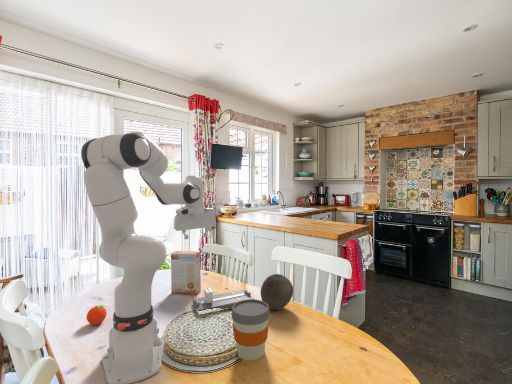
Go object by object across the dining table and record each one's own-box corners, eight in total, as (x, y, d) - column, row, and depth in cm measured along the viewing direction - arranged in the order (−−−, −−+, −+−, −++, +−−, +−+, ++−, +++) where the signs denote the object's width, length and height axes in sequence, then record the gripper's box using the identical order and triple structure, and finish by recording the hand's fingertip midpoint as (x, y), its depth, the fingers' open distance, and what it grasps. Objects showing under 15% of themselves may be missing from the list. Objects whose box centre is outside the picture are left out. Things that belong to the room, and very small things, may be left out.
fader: (213, 302, 119) (212, 291, 119) (207, 303, 118) (207, 292, 118) (210, 297, 123) (209, 287, 123) (204, 298, 122) (204, 288, 122)
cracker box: (201, 290, 139) (200, 251, 139) (196, 295, 134) (195, 254, 133) (176, 288, 142) (176, 250, 142) (171, 293, 137) (170, 252, 136)
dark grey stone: (270, 319, 109) (269, 283, 109) (256, 305, 122) (255, 272, 122) (298, 312, 115) (298, 277, 115) (282, 299, 128) (282, 268, 128)
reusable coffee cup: (239, 368, 80) (239, 319, 79) (227, 345, 91) (226, 302, 91) (276, 357, 85) (276, 311, 84) (260, 337, 96) (259, 296, 96)
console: (254, 303, 124) (254, 295, 124) (198, 315, 113) (198, 306, 113) (244, 294, 135) (244, 286, 135) (192, 304, 124) (192, 295, 123)
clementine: (106, 316, 113) (106, 300, 112) (111, 322, 108) (111, 305, 108) (84, 323, 107) (84, 306, 107) (89, 330, 102) (88, 311, 102)
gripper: (213, 207, 136) (213, 234, 137) (172, 210, 126) (173, 239, 127) (217, 208, 131) (218, 236, 131) (175, 211, 120) (176, 241, 121)
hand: (196, 237), depth 129 cm, fingers open, 8 cm apart
